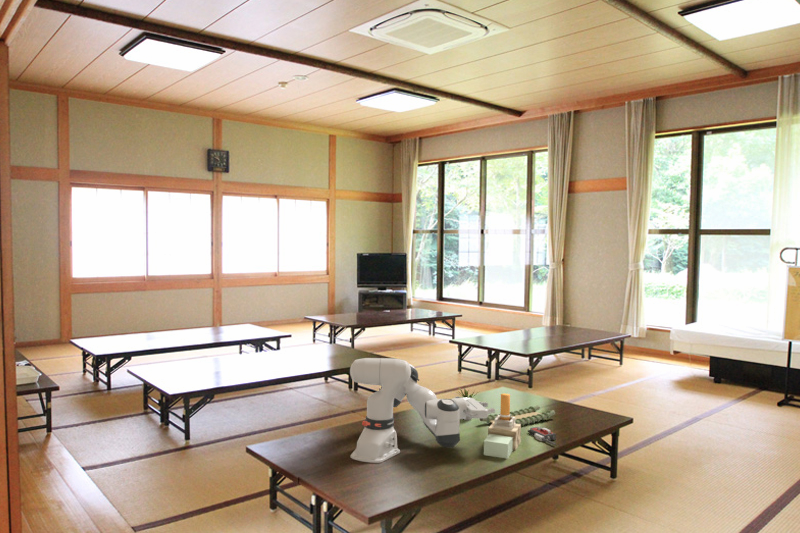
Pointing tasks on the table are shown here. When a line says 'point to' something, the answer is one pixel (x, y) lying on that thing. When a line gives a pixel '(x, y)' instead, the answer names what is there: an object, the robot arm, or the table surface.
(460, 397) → the house plant
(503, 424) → the tan stepped block
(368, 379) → the robot arm
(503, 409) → the orange cylinder
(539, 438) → the walkie-talkie
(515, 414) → the stretcher
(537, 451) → the table surface
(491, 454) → the block
